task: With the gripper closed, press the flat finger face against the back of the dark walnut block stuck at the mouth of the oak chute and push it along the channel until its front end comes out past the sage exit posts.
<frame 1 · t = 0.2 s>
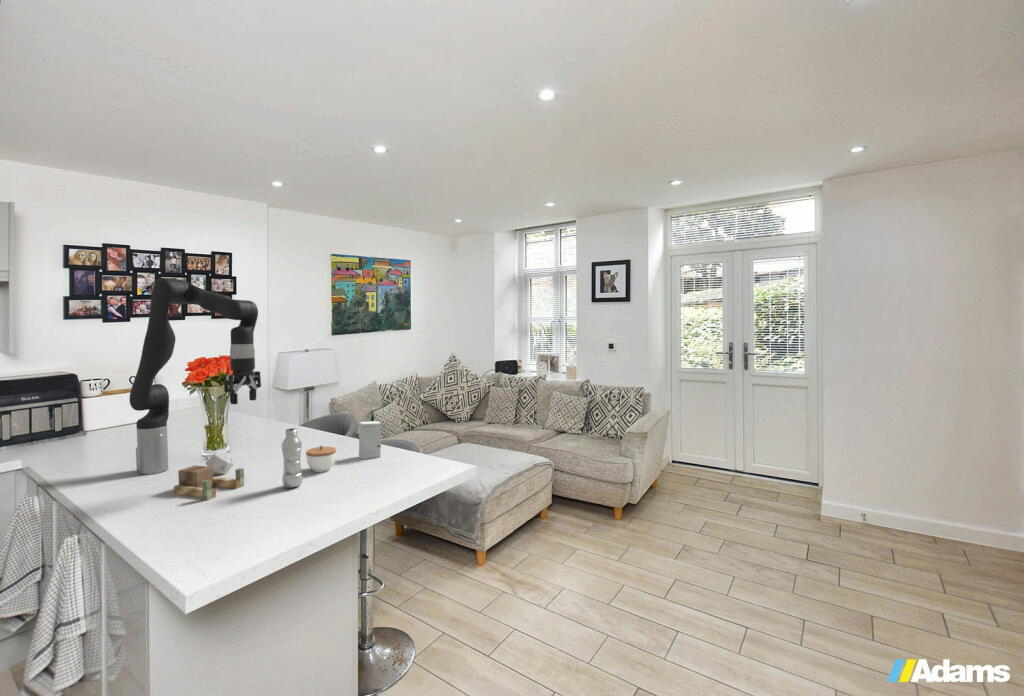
hand: (243, 402, 167), 29 cm above the worktop, tool pointing down, fingers open, 8 cm apart
block: (196, 478, 161), point 3 cm above the worktop, slide at 0.0 cm
plastic bottle: (292, 487, 163), on the worktop
die: (220, 473, 178), on the worktop
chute: (207, 490, 160), on the worktop
skincare box: (370, 457, 201), on the worktop
lidded jar: (321, 470, 183), on the worktop
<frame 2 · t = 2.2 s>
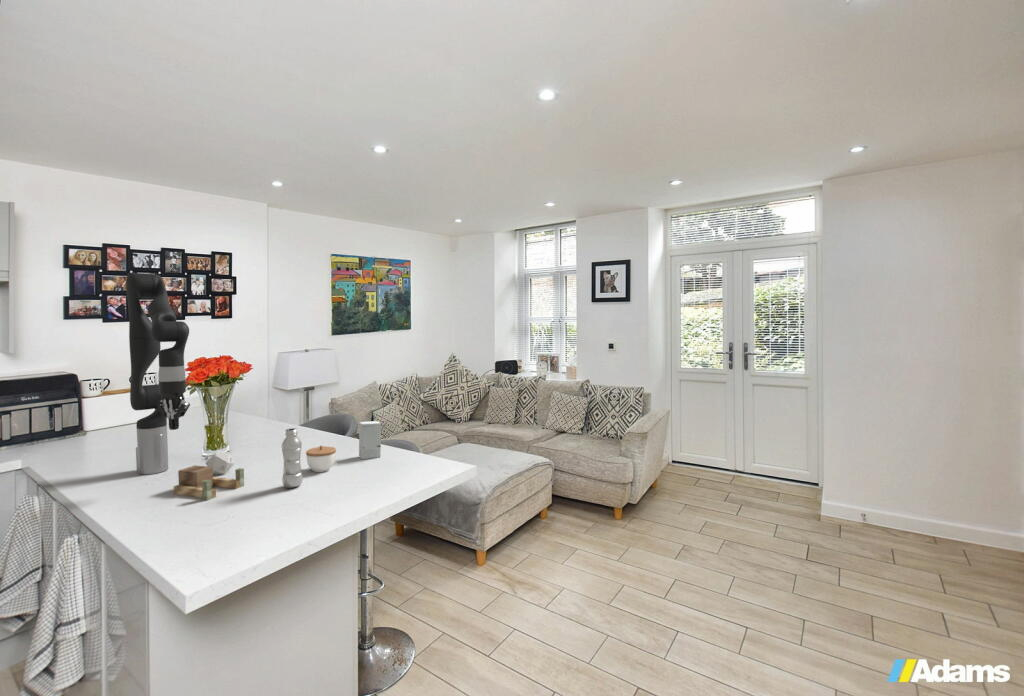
hand: (174, 429, 163), 20 cm above the worktop, tool pointing down, fingers closed
nothing on the worktop moved.
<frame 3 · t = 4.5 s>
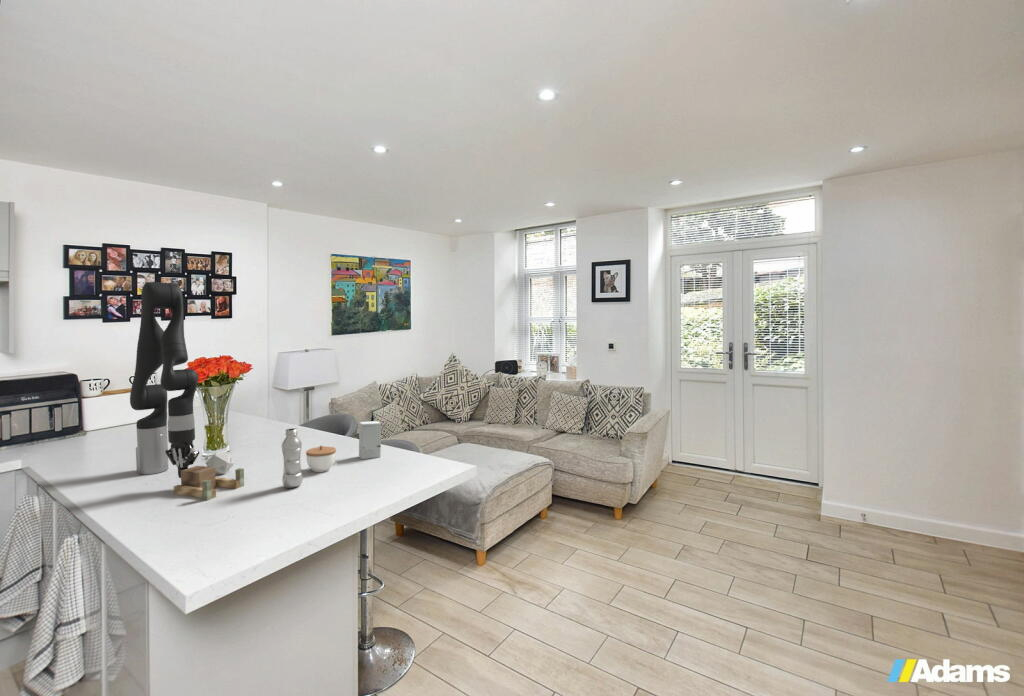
hand: (183, 477, 162), 4 cm above the worktop, tool pointing down, fingers closed
block: (198, 479, 161), point 3 cm above the worktop, slide at 1.1 cm, touching gripper
everything else where it was.
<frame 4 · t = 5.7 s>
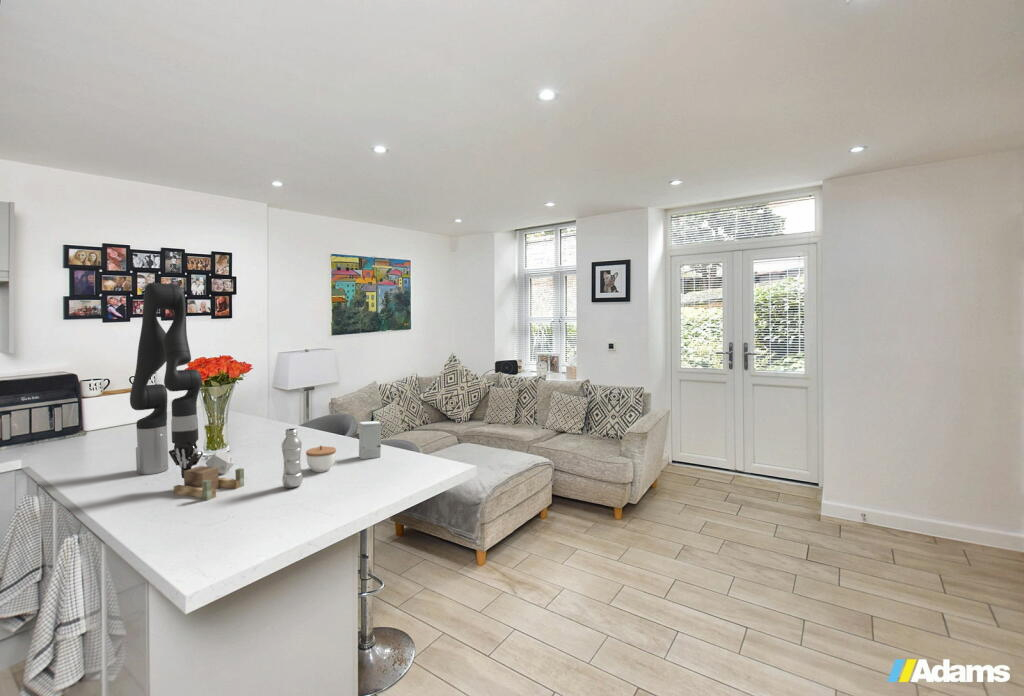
hand: (186, 477, 162), 4 cm above the worktop, tool pointing down, fingers closed
block: (201, 479, 160), point 3 cm above the worktop, slide at 2.4 cm, touching gripper
everything else where it was.
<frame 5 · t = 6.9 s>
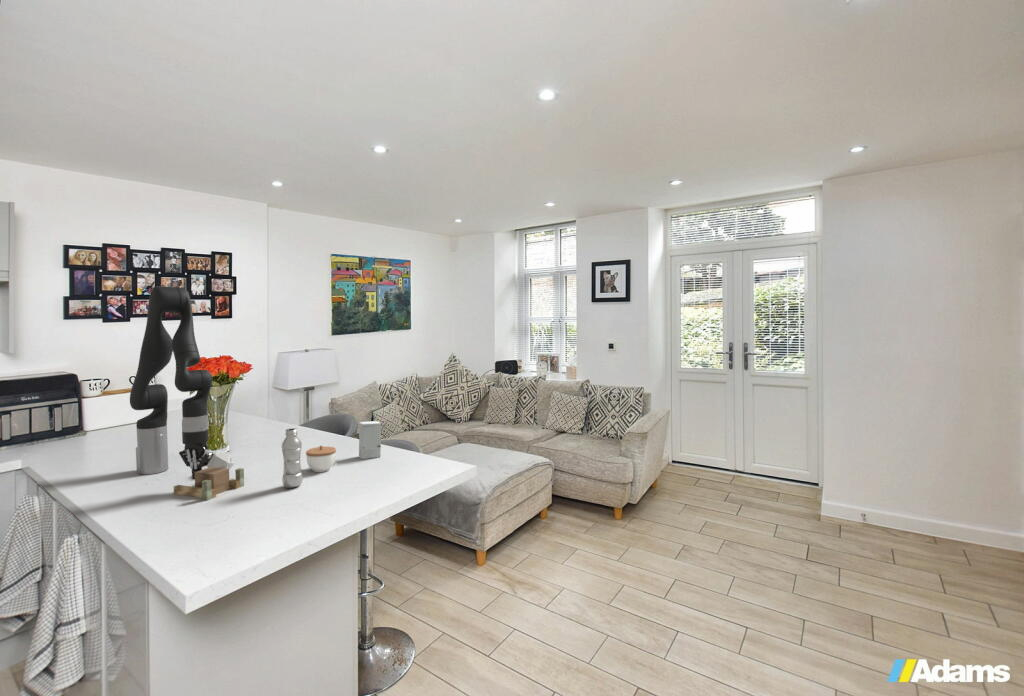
hand: (197, 478, 161), 4 cm above the worktop, tool pointing down, fingers closed
block: (212, 480, 159), point 3 cm above the worktop, slide at 7.1 cm, touching gripper
everything else where it was.
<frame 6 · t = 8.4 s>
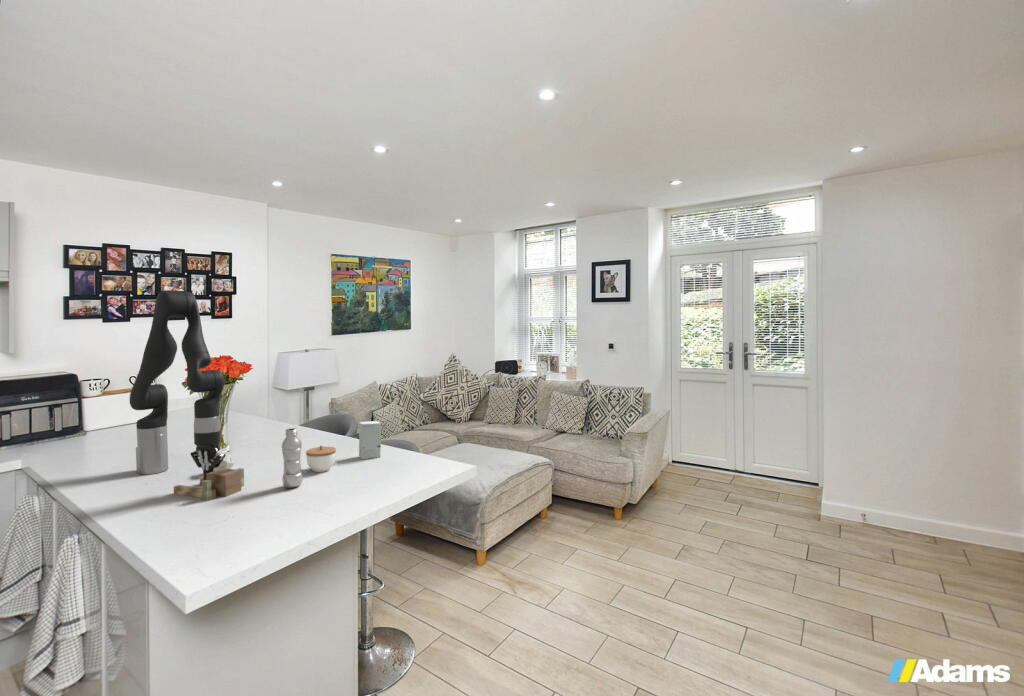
hand: (208, 480, 159), 4 cm above the worktop, tool pointing down, fingers closed
block: (224, 482, 158), point 3 cm above the worktop, slide at 12.0 cm, touching gripper
everything else where it was.
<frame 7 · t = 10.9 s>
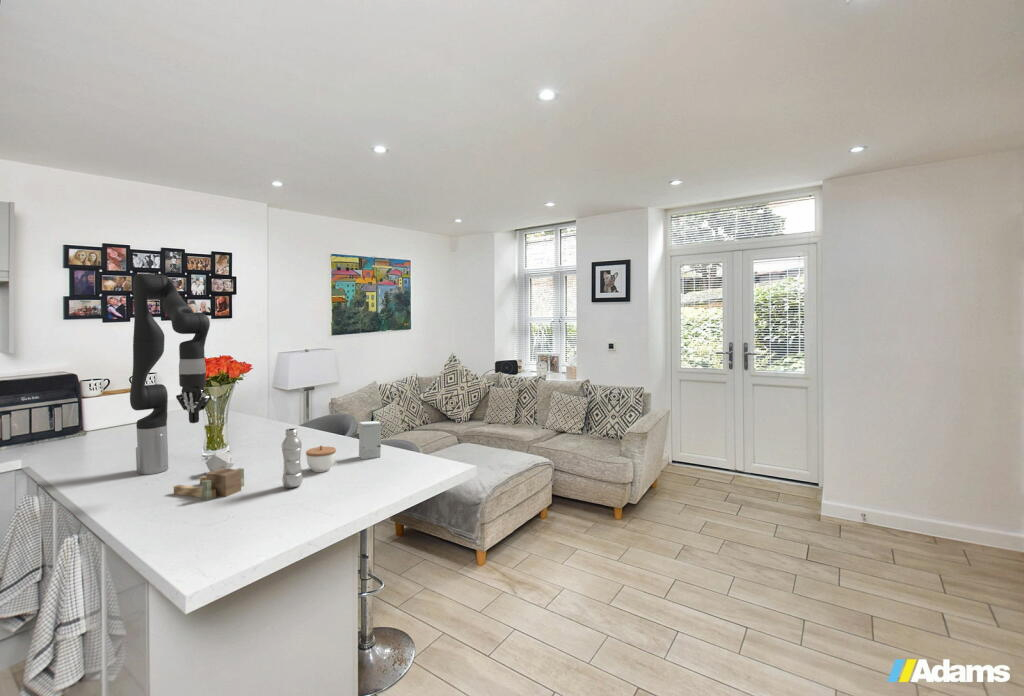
hand: (194, 422, 160), 23 cm above the worktop, tool pointing down, fingers closed
block: (223, 482, 158), point 3 cm above the worktop, slide at 12.0 cm
everything else where it was.
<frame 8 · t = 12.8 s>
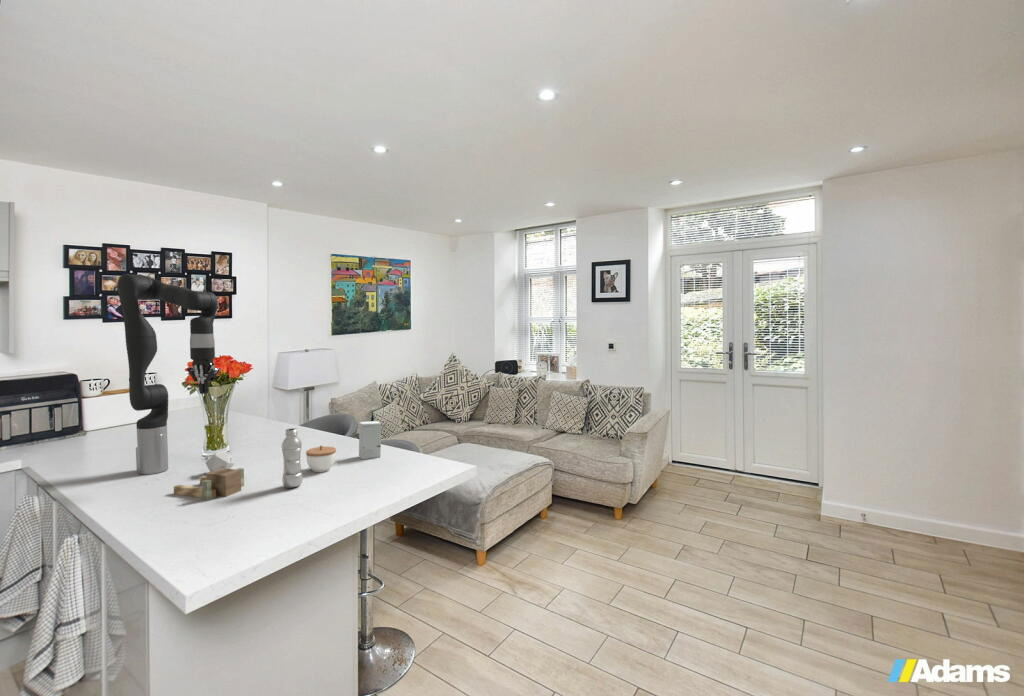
hand: (204, 393, 172), 31 cm above the worktop, tool pointing down, fingers closed
nothing on the worktop moved.
at the end: block slide at 12.0 cm; the gripper is holding nothing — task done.
